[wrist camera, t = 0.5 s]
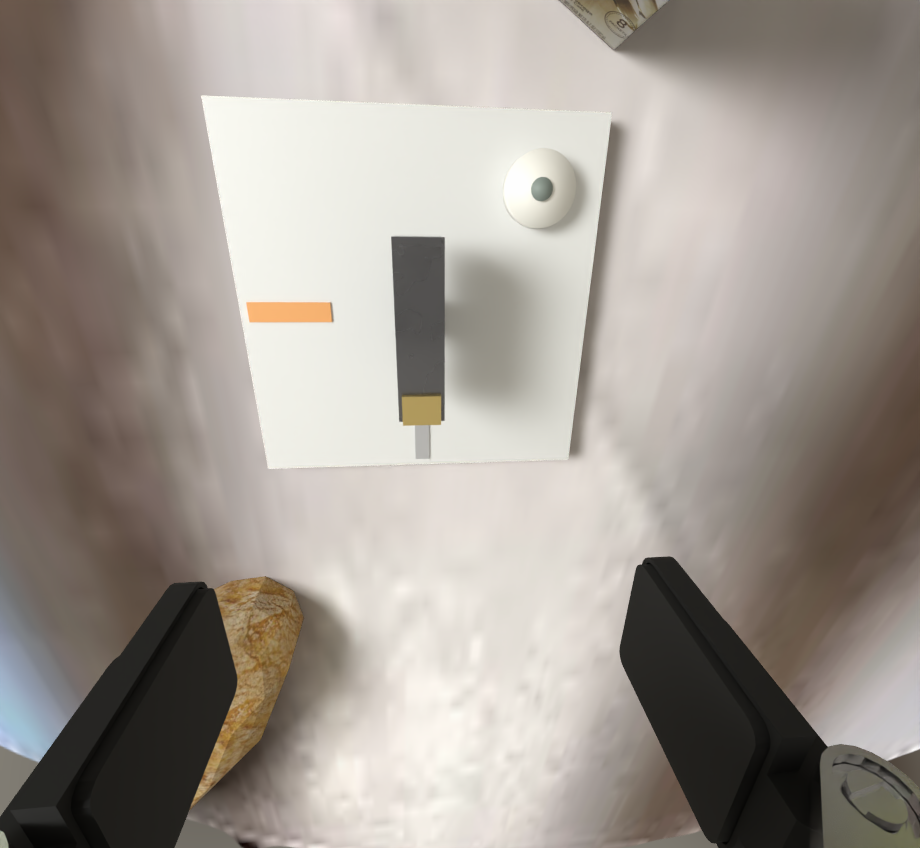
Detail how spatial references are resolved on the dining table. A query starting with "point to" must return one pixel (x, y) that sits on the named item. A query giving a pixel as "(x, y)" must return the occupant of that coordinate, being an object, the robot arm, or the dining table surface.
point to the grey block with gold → (420, 327)
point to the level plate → (371, 274)
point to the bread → (252, 665)
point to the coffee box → (614, 16)
